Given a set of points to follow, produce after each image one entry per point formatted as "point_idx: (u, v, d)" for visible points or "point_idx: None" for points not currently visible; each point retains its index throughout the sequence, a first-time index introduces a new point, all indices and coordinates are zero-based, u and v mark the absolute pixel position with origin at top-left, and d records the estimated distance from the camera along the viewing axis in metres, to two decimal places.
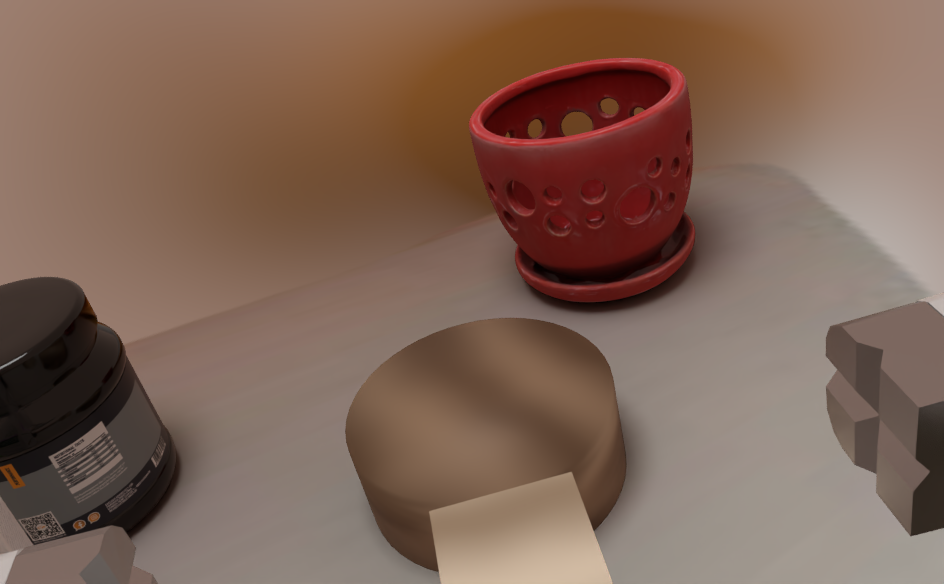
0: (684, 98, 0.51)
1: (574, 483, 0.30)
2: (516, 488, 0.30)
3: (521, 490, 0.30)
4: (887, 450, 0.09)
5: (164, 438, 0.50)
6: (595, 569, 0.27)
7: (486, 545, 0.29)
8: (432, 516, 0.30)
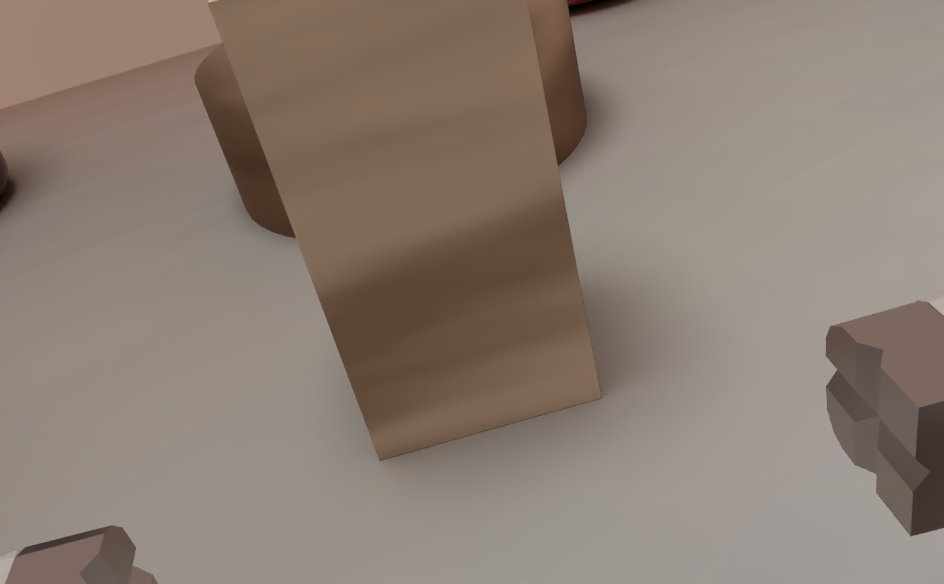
0: None
1: None
2: None
3: None
4: (887, 450, 0.09)
5: None
6: None
7: None
8: None
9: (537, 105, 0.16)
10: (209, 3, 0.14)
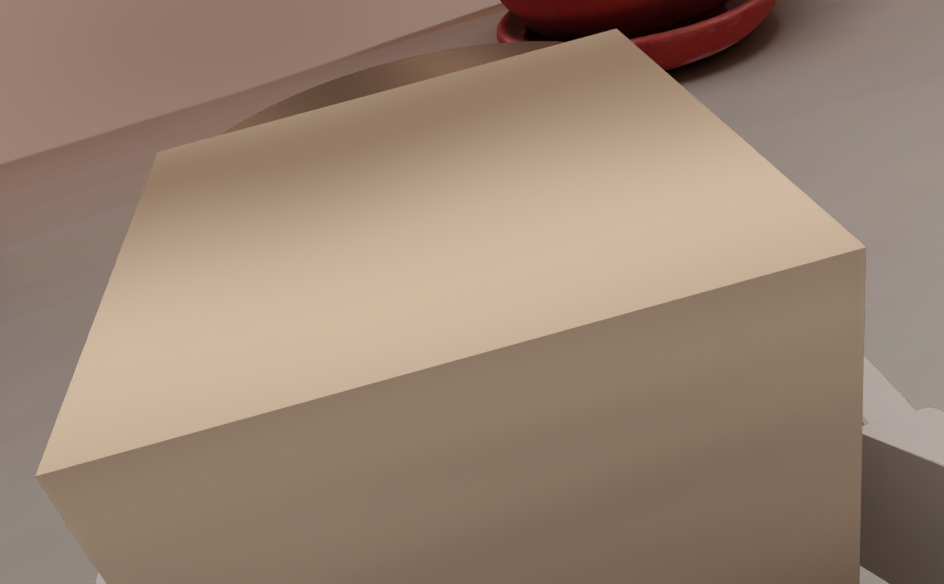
0: None
1: (628, 44, 0.09)
2: (437, 78, 0.09)
3: (454, 79, 0.09)
4: None
5: None
6: (750, 201, 0.06)
7: (308, 196, 0.08)
8: (161, 160, 0.09)
9: None
10: (39, 480, 0.05)
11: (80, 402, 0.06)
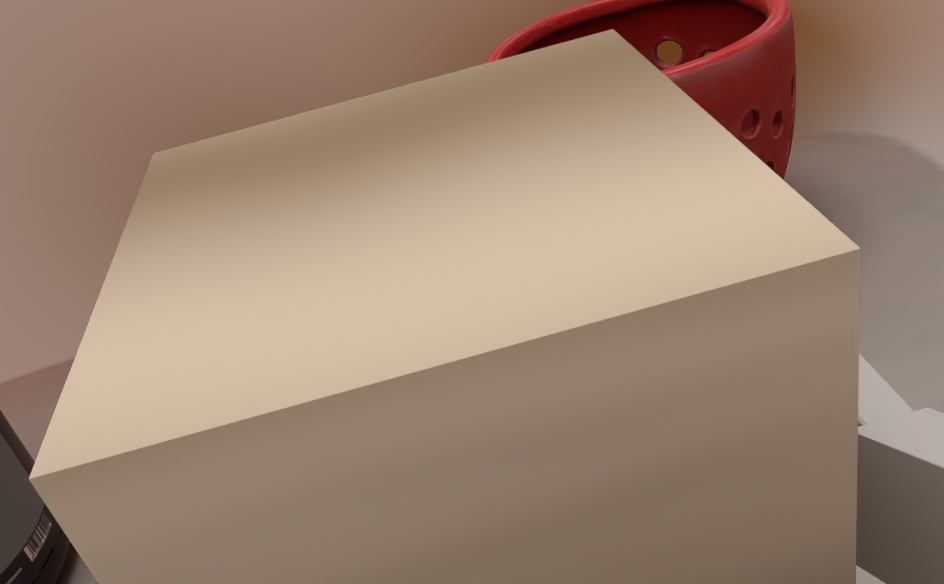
0: (790, 26, 0.36)
1: (624, 44, 0.09)
2: (434, 79, 0.09)
3: (450, 80, 0.09)
4: None
5: (50, 515, 0.35)
6: (746, 203, 0.06)
7: (304, 197, 0.08)
8: (157, 161, 0.09)
9: None
10: (32, 483, 0.05)
11: (75, 405, 0.06)
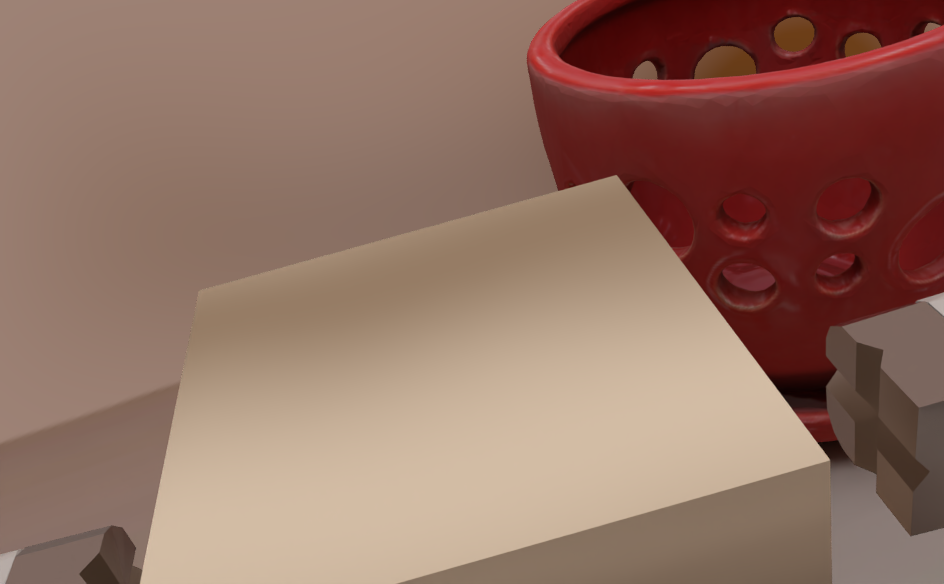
0: None
1: (627, 196, 0.10)
2: (454, 223, 0.10)
3: (469, 225, 0.10)
4: (887, 450, 0.09)
5: None
6: (734, 400, 0.07)
7: (341, 357, 0.09)
8: (203, 301, 0.10)
9: None
10: None
11: (157, 581, 0.07)
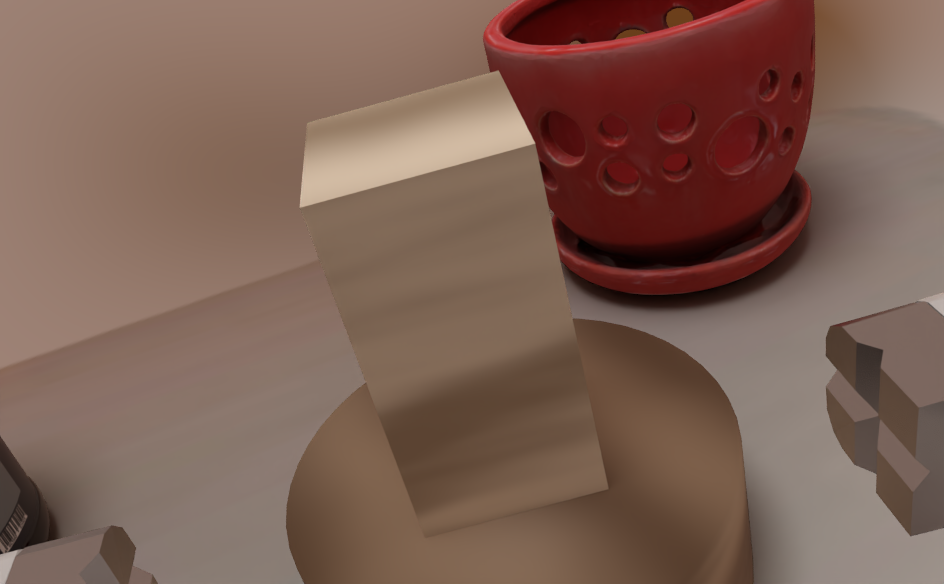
0: None
1: (500, 77, 0.22)
2: (423, 92, 0.23)
3: (429, 92, 0.22)
4: (887, 450, 0.09)
5: (25, 507, 0.33)
6: (512, 133, 0.19)
7: (371, 136, 0.21)
8: (310, 125, 0.22)
9: (555, 272, 0.20)
10: (301, 208, 0.18)
11: (306, 192, 0.19)
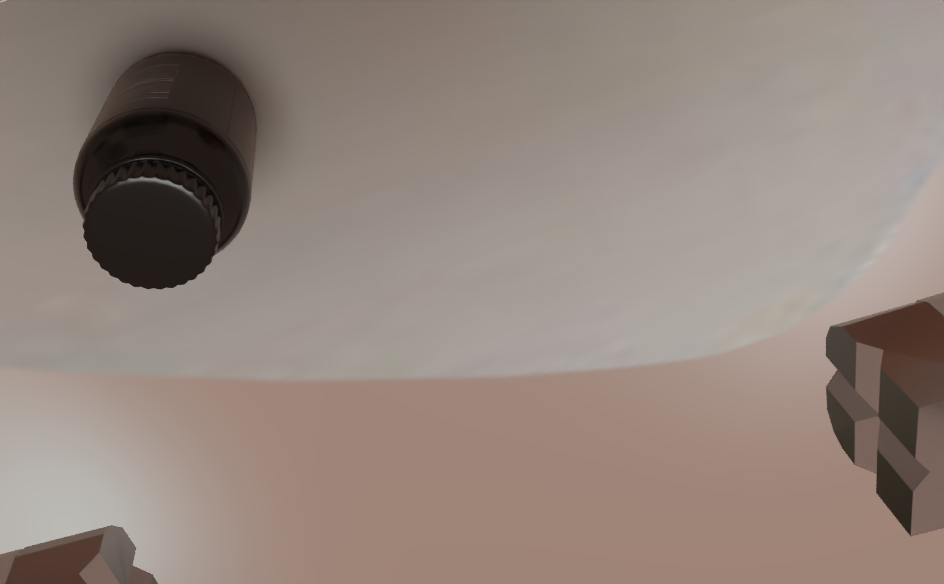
0: None
1: None
2: None
3: None
4: (887, 450, 0.09)
5: None
6: None
7: None
8: None
9: None
10: None
11: None
